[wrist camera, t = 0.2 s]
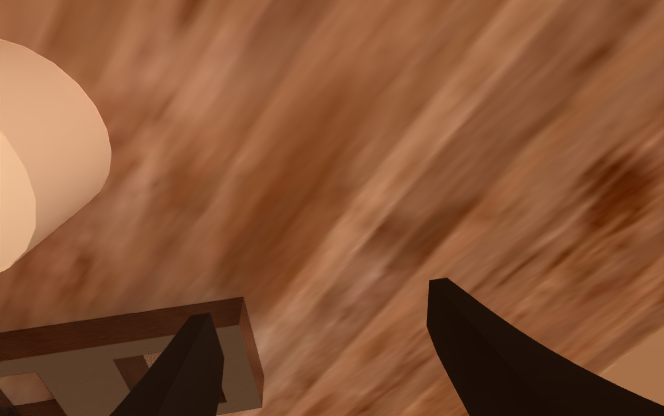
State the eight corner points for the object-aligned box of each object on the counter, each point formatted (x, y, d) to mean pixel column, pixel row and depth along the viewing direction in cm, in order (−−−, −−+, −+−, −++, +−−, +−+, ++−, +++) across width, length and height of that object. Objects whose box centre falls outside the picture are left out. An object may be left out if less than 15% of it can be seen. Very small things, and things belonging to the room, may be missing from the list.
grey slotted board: (243, 297, 23) (238, 325, 20) (263, 376, 26) (262, 407, 24) (-113, 349, 21) (-160, 386, 19) (-39, 426, 25) (-71, 464, 22)
